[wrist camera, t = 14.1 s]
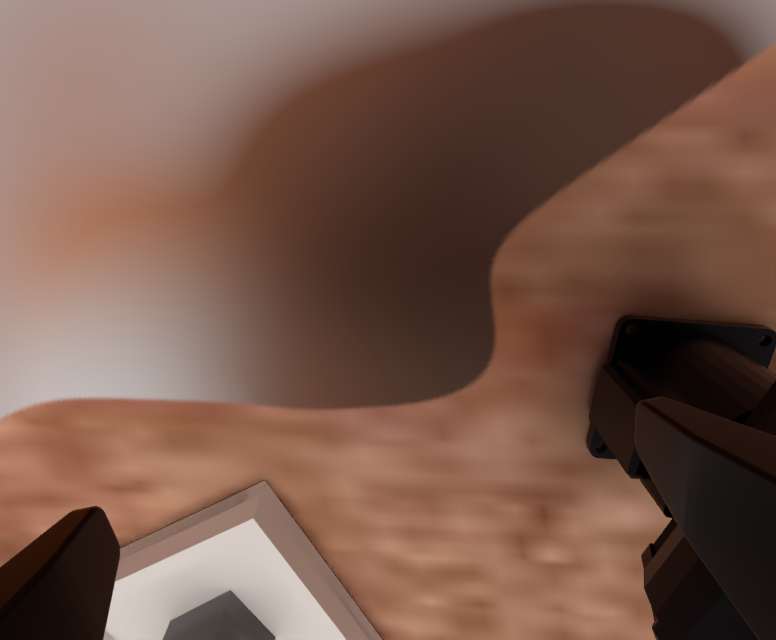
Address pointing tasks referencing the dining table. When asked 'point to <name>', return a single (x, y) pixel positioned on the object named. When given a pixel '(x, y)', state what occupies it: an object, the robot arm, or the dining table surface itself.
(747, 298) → the dining table surface
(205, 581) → the tray
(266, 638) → the dark grey pillar
